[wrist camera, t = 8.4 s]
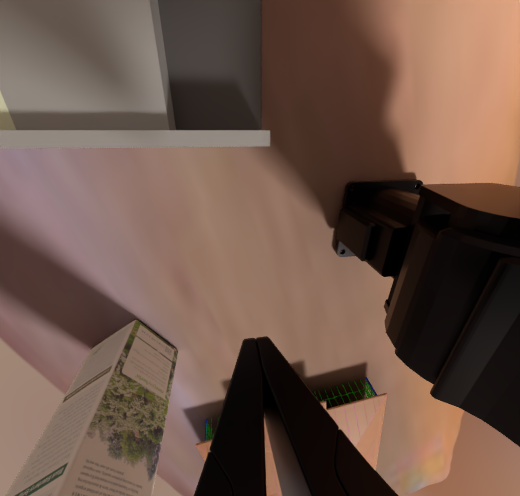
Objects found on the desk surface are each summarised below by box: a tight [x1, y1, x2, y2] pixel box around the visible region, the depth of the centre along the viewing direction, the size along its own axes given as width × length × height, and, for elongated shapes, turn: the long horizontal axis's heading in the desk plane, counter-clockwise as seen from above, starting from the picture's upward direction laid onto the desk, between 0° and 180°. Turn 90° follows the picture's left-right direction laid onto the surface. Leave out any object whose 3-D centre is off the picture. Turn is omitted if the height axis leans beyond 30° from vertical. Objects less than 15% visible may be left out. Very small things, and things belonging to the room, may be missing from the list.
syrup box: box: [6, 320, 178, 496], centre depth 16 cm, size 6×6×14 cm
